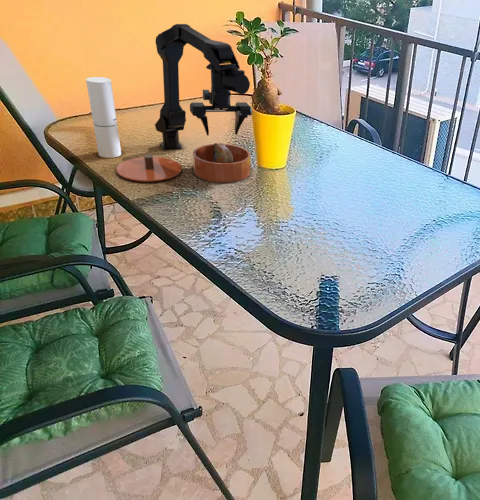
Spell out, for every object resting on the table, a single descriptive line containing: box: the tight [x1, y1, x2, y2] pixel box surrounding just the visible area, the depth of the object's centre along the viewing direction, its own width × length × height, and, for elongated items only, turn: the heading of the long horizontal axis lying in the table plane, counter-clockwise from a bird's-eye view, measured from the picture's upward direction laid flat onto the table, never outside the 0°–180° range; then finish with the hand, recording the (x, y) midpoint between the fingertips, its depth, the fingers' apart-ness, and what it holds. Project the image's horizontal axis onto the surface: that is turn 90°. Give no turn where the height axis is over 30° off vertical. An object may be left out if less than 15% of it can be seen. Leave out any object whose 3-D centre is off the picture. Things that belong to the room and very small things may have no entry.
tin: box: [213, 142, 233, 163], centre depth 158 cm, size 15×3×8 cm, turn 30°
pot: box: [192, 143, 252, 183], centre depth 159 cm, size 19×19×6 cm
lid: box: [116, 154, 182, 182], centre depth 152 cm, size 20×20×5 cm
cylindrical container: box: [85, 76, 122, 159], centre depth 155 cm, size 7×7×25 cm
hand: (221, 134), depth 154 cm, fingers open, 9 cm apart
